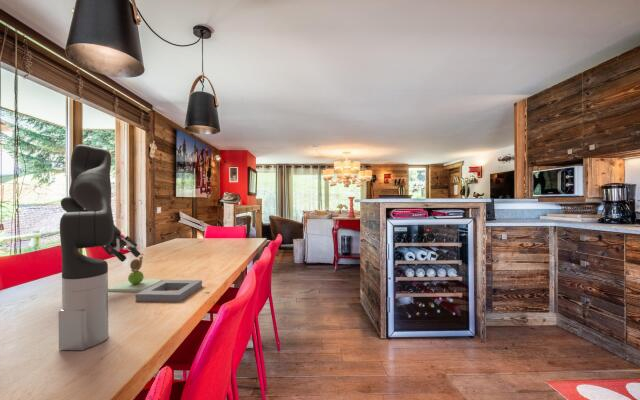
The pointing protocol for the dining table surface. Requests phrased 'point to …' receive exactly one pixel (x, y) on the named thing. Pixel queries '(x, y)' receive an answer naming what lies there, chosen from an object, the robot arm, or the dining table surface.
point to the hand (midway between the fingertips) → (131, 257)
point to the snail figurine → (136, 271)
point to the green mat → (134, 286)
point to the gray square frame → (169, 296)
